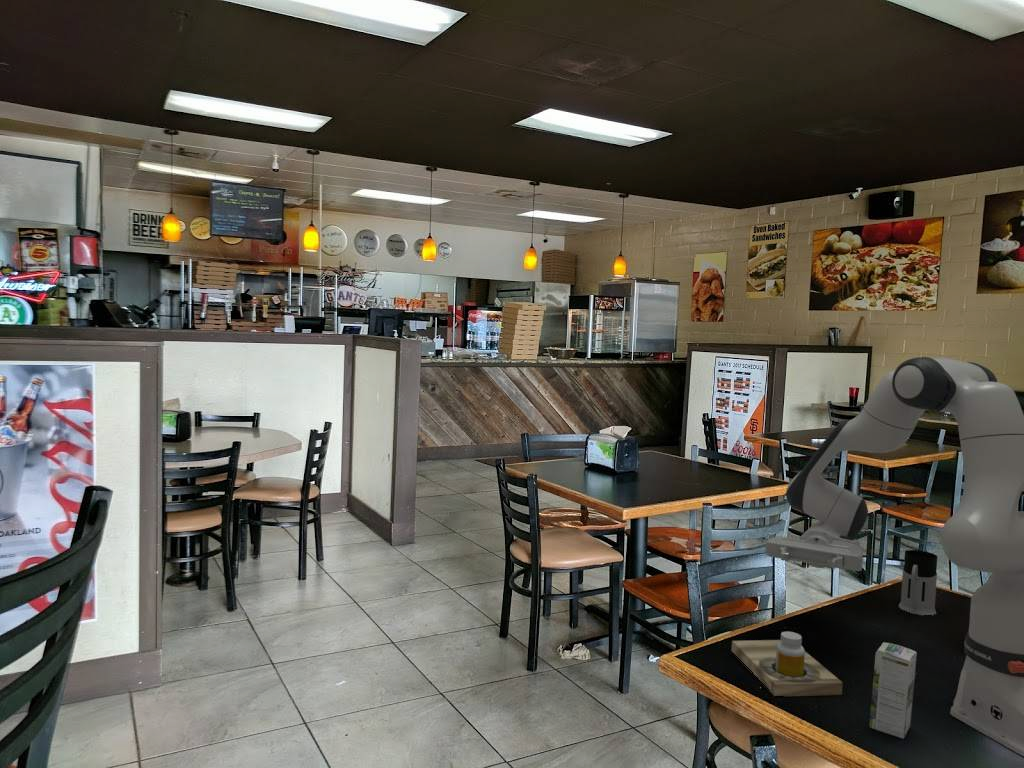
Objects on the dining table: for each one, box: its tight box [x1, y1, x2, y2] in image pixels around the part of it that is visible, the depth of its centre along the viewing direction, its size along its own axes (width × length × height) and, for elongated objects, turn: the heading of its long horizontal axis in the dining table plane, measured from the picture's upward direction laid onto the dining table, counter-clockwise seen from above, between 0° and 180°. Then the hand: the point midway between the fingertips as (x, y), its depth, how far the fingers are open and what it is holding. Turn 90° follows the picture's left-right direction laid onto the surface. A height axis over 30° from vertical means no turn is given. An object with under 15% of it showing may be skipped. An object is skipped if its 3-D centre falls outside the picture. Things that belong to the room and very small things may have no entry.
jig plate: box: [731, 639, 843, 697], centre depth 149 cm, size 20×14×2 cm
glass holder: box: [898, 549, 938, 616], centre depth 185 cm, size 9×14×15 cm, turn 141°
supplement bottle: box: [775, 631, 806, 677], centre depth 144 cm, size 5×5×10 cm
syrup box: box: [869, 642, 918, 740], centre depth 128 cm, size 6×6×14 cm
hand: (807, 560), depth 153 cm, fingers open, 8 cm apart
